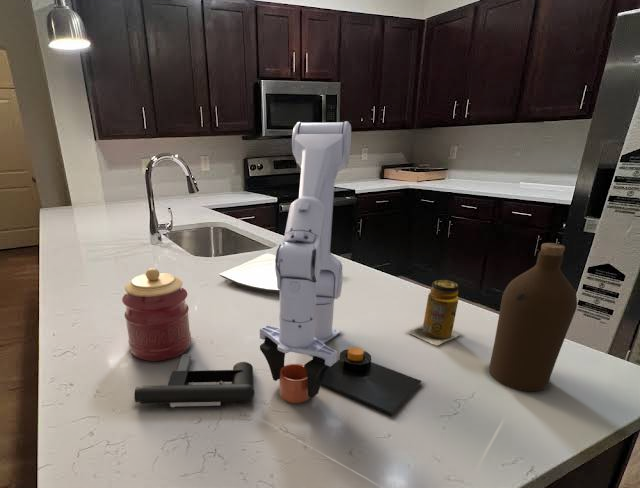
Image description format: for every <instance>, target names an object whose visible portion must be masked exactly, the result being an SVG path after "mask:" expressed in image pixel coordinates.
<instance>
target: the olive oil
mask: <svg viewBox="0 0 640 488" xmlns="http://www.w3.org/2000/svg"><path fill="white" fill-rule="evenodd" d="M565 249H566V246H565V245H563V244H559V243H556V242H555V243H553V242H544V243H542V244H541V246H540V251H538V254H537V257H536V258H537V259H536V263H535V265H534V266H533V267H531V268H530V269H528V270H526V271H525V272H523V273H520V274H519V275H518V276H516V277H515V278H513V279H512V280H511V281H510V282H509V283H508V284H507V286H506V287H505V289H504V291H503V292H502V297H501V302H500V309H499V313H498V320H497V326H496V330H495V337H494V341H493V347H492V352H491V357H490V362H489V365H488V367H489V368H488V372H489V375H490V376H491V377H492V378H493V379H494V380H495V381H496V382H498V383H500V384H502V385H503V386H505V387H509V388H511V389H515V390H518V391H524V392H538V391H542V390H545V389H546V388H547V387H548V385H549V382H550V379H551V377H552V374H553V372H554V369H555V365H556V362H557V360H558V357H559V355H560V352H561V349H562V347H563V344H564V341H565V339H566V336H567V334H568V331H569V328H570V326H571V323H572V322H573V318H574V316H575V314H576V311H577V307H578V297H577V292H576V290H575V289H574V286H573V285H572V284H571V283H570V281H569V280H568V279H567V277H566V276H565V274H564V273H563V272H562V270H561V266H562V263H563V260H564V257H565V256H564V252H565Z"/></svg>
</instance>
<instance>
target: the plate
mask: <svg viewBox="0 0 640 488" xmlns="http://www.w3.org/2000/svg"><path fill="white" fill-rule="evenodd" d="M275 257H276V254H272V253H264V254H262V255H259V256H258V257H255V258H253V259H251V260H249V261H246V262H244V263H242V264H240V265H239V264H238V265H237V266H235V267H233V268H230V269H228V270H225V271H222V272H220V273H219V276H220V277H221V278H223V279H225V280H228V281H230V282H232V283H235V284H237V285H240V286H243V287H247V288H251V289H256V290H259V291H264V292H271V293H280V290H279V289H278V287H277V276H276V271H275Z"/></svg>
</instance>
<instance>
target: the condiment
mask: <svg viewBox="0 0 640 488" xmlns="http://www.w3.org/2000/svg"><path fill="white" fill-rule="evenodd" d="M459 286H460V285H459V284H458V283H456V282H455V281H451V280H447V279H438V280H434V281H433V282H432V283H431V288H430V292H429V293H428V294H427V300H426V305H425V306H426V307H425V312H424V318H423V325H422V326H420V327H417V328H416V329H413V330H409V331H408V333H409V334H411V335H412V336H414V337H416V338H418V339H420V340H423V342H427V343H430V344H432V345H434V346H436V347H437V346H440V345H441V344H444V343H446V342H448V341H451V340H453V339H456V338H458V337H459V336H460V334H459V333H458V332H457V333H456V332H454V331H453V329H454V324H455V319H456V313H457V309H458V304H459V296H458V295H459V289H460V288H459Z"/></svg>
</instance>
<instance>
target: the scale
mask: <svg viewBox="0 0 640 488" xmlns="http://www.w3.org/2000/svg"><path fill="white" fill-rule="evenodd" d="M348 349H349V348H346V349H343V350H342V351H340V352H339V357H338V358H339V359H337V362H335V363H334V364H333V365H331V366H330V367H329V369H328V371H327V372H326V374H325V376H324V378H323V380H322V383H321V385H320V387H323V388H325V389H327V390H330V391H332V392H334V393H337V394H340V395H341V396H344V397H345V398H348V399H349V400H352V401H354V402H357V403H359V404H361V405H363V406H366V407H368V408H369V409H373V410H375V411H377V412H379V413H382V414H384V415H386V416H389V417H393V416H394V415H395V414H396V412H397V411H398V410H399V409H400V408H401V407H402V405H403V404H404V403H405V402H406V401H407V400H408V399H409V398H410V397H411V396H412V395H413V394H414V393H415V392H416V391H417V389H418V388H419V387H421V383H422V380H421V379H418V378H415V377H412V376H411V375H408V374H405V373H401V372H399V371H396V370H394V369H391V368H388V367H385V366H383V365H380V364H378V363H376V362H375V363H374V362H372V354H370V353H369V352H367V351H365V350H364V357H363V360H361V361H352V360H350V359H348V358H347V355H348Z"/></svg>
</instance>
